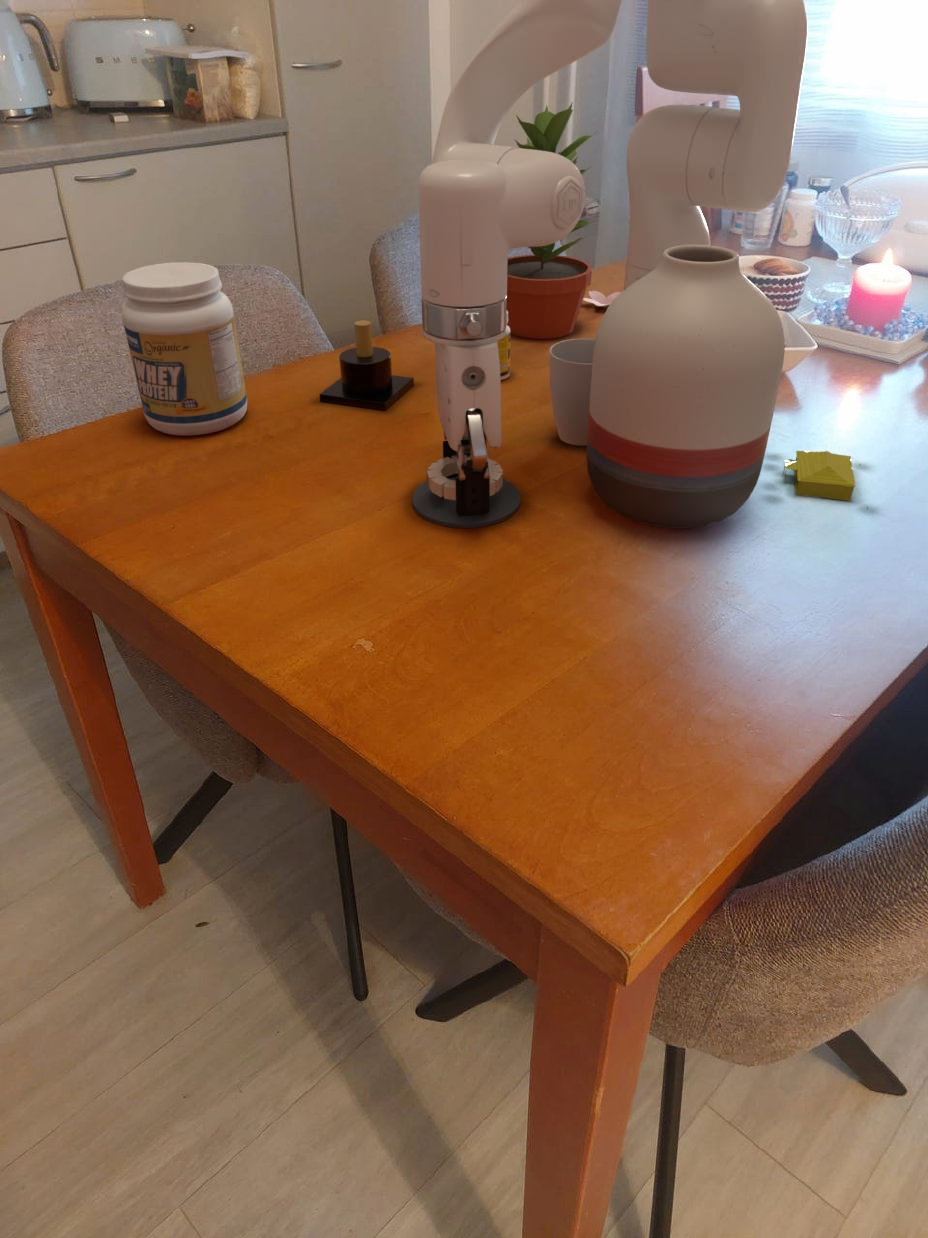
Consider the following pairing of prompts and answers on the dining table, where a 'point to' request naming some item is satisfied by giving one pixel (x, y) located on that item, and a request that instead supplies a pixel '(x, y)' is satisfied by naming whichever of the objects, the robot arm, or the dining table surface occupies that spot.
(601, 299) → the flower
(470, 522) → the coaster
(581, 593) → the dining table surface
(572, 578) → the dining table surface
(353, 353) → the ring holder
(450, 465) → the ring
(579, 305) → the potted plant
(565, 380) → the cup
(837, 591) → the dining table surface
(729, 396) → the vase
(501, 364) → the supplement bottle
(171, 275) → the supplement tub
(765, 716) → the dining table surface
